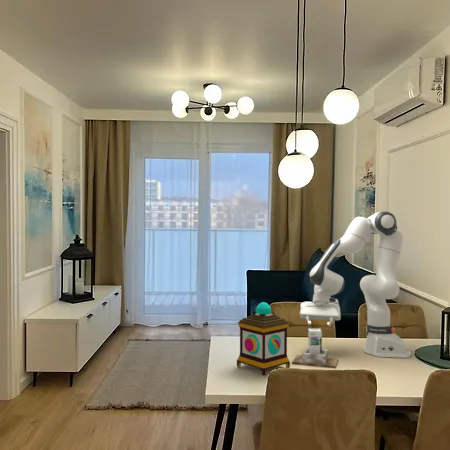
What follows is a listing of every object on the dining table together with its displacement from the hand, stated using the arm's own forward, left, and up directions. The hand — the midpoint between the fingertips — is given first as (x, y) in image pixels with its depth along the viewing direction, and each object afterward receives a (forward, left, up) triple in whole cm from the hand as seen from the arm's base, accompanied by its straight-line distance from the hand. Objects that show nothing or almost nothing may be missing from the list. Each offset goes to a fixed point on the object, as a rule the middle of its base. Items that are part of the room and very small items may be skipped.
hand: (318, 325), depth 236 cm
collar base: (0, +10, -15) cm, 18 cm away
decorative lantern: (+21, +27, -16) cm, 38 cm away
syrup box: (+1, +9, -15) cm, 17 cm away
